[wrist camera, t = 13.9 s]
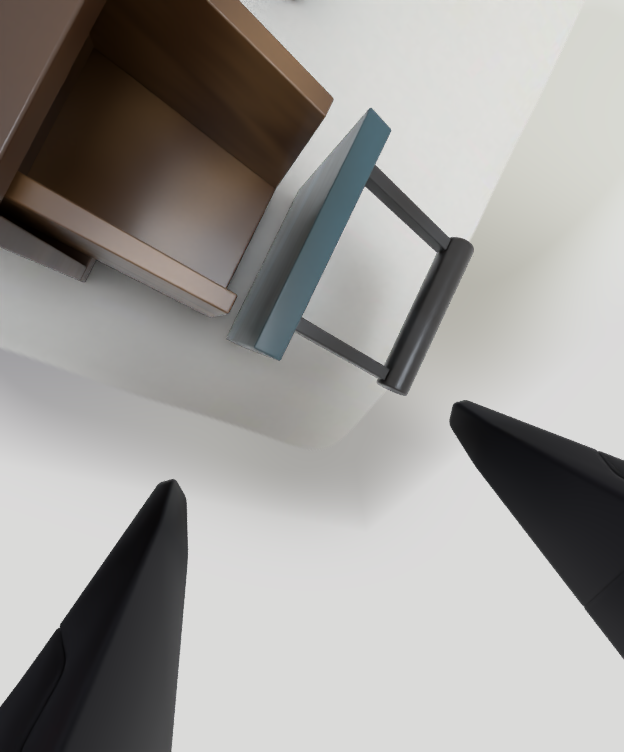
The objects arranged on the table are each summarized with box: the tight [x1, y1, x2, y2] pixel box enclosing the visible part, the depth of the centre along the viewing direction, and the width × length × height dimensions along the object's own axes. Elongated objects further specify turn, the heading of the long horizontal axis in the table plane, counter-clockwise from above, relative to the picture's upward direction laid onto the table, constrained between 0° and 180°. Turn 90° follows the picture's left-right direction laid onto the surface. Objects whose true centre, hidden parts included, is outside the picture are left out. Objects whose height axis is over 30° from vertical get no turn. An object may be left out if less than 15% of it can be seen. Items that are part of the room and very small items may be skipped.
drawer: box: [0, 0, 474, 396], centre depth 14 cm, size 19×10×8 cm, turn 62°
